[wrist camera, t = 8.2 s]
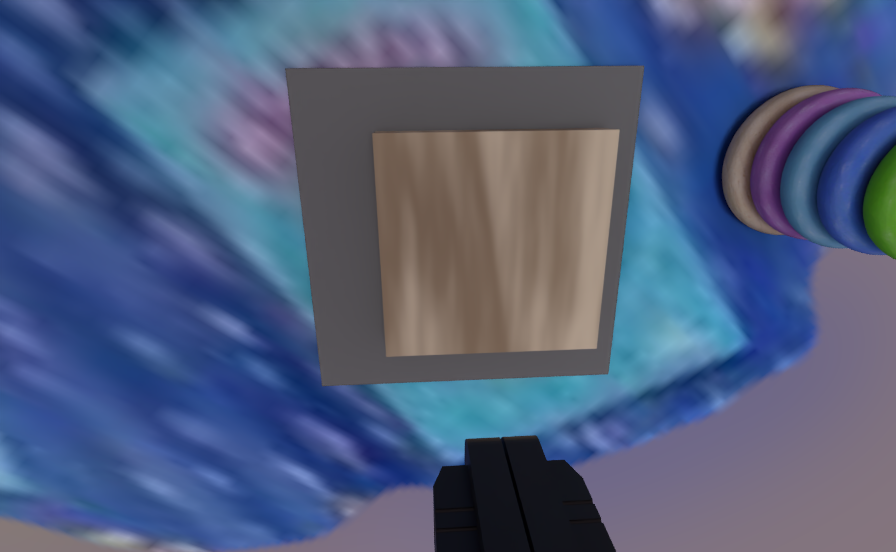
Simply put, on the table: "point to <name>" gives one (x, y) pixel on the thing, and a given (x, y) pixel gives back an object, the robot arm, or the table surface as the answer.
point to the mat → (355, 207)
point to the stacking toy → (818, 168)
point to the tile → (493, 238)
